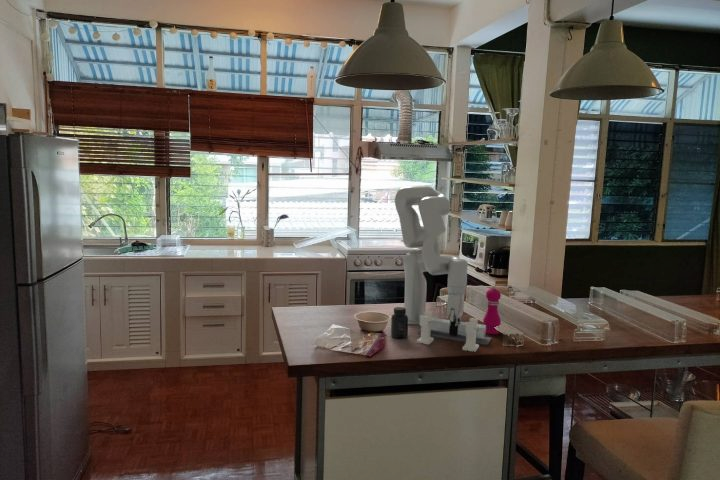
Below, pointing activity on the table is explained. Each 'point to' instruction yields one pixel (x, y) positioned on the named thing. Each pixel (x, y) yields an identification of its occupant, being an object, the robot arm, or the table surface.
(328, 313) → the table surface
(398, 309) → the supplement bottle
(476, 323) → the post right
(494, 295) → the pepper mill
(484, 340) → the mat
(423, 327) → the post left
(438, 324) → the rail
